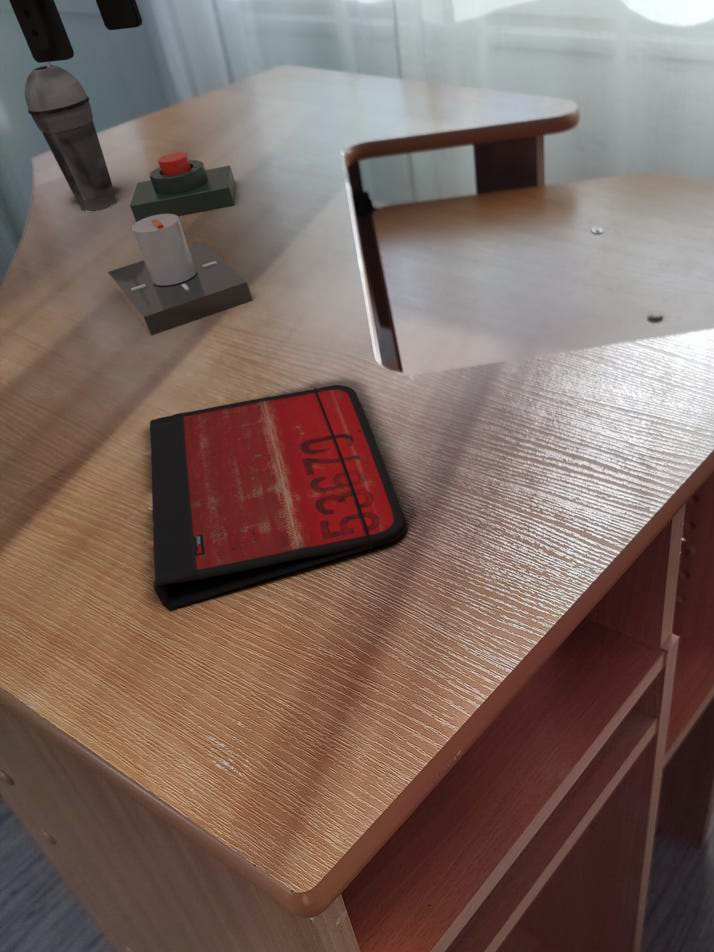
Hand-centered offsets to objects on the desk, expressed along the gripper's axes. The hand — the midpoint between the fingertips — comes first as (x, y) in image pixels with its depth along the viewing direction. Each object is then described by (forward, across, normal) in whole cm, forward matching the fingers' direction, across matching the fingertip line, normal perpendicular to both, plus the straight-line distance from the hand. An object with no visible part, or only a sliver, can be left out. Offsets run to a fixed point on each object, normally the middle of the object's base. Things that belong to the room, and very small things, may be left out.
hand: (92, 43), depth 67 cm
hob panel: (+23, -4, -4) cm, 23 cm away
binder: (+23, +24, +19) cm, 39 cm away
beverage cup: (+23, -33, -32) cm, 52 cm away
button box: (+23, -33, -19) cm, 44 cm away
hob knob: (+20, -4, -4) cm, 21 cm away
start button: (+19, -33, -19) cm, 43 cm away
